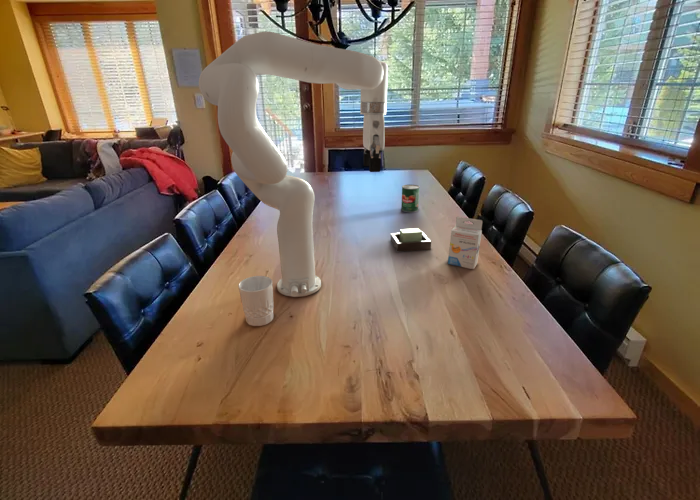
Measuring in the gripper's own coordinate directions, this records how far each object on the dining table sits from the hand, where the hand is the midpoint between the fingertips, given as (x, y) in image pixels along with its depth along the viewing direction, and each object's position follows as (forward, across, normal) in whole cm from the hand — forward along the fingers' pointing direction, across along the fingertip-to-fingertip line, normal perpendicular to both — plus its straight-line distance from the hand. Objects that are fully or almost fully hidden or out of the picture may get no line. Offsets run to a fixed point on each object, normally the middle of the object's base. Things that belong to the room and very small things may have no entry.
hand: (371, 168), depth 114 cm
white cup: (+31, -32, +33) cm, 55 cm away
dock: (+29, +8, -16) cm, 34 cm away
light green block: (+28, +8, -16) cm, 34 cm away
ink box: (+29, -10, -28) cm, 42 cm away
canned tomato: (+28, +49, -28) cm, 63 cm away
